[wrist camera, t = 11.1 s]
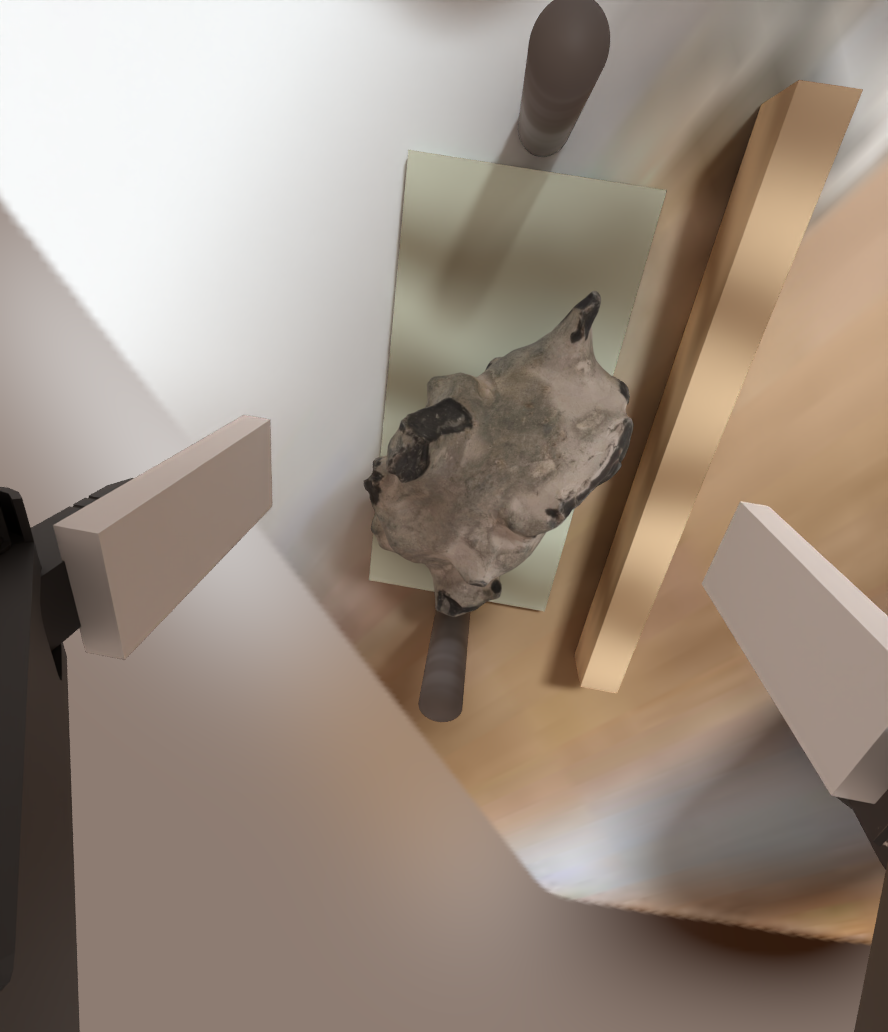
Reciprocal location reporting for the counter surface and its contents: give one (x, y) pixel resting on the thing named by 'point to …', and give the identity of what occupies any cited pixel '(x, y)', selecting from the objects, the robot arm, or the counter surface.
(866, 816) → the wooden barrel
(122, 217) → the counter surface
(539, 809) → the counter surface
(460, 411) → the decorative stone
